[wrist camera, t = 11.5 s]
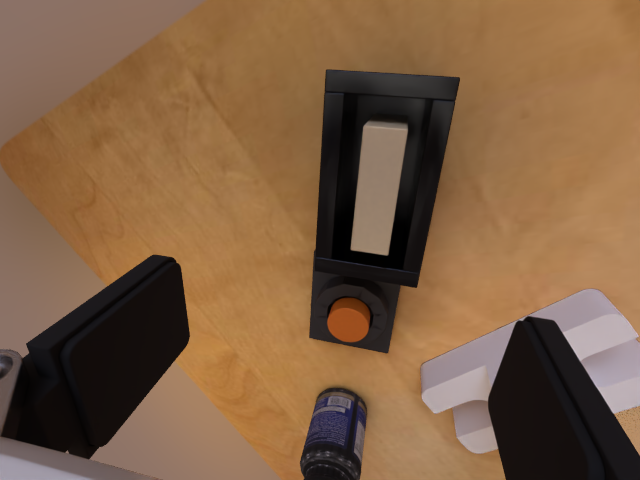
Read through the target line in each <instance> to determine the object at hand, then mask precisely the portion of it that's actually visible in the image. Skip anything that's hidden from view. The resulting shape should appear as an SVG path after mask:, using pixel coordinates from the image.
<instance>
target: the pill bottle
mask: <svg viewBox="0 0 640 480" xmlns="http://www.w3.org/2000/svg"><path fill="white" fill-rule="evenodd" d="M366 418H367V408H366V405H365V403H364V401H363V400H362V399H361V398H360V397H359V396H358V395H356V394H355V393H353V392H351V391H349V390H346V389H342V388H331V389H327V390H325V391H323V392H322V393H321V394H320V395H319V396H318V398H317V400H316V404H315V408H314V412H313V415H312V419H311V423H310V427H309V430H308V434H307V438H306V442H305V445H304V449H303V453H302V456H301V461H300V467H301V472H302V474H303V476H304V478H305V479H304V480H360V475H361V465H362V455H363V446H364V437H365V427H366Z"/></svg>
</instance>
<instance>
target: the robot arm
mask: <svg viewBox="0 0 640 480" xmlns="http://www.w3.org/2000/svg"><path fill="white" fill-rule="evenodd" d="M189 337H190V333H189V325H188V318H187V310H186V303H185V295H184V287H183V280H182V272H181V267H180V265H179V264H178V263H176V260H175V259H174V258H172V257H167V256H161V255H152V256H150V257H149V258H147V259H146V260H144V261H143V262H142V263H140V264H139V265H137V266H136V267H134V268H133V269H132V270H130V271H129V272H127V273H126V274H125V275H123V276H122V277H120V278H119V279H117V280H116V281H115V282H113V283H112V284H110V285H109V286H107V287H106V288H105V289H103V290H102V291H101V292H99V293H98V294H96V295H95V296H93V297H92V298H90V299H89V300H88V301H86V302H85V303H83V304H82V305H80V306H79V307H78V308H76V309H75V310H73V311H72V312H71V313H69V314H68V315H66V316H65V317H63V318H62V319H61V320H59V321H58V322H56V323H55V324H53V325H52V326H51V327H49V328H48V329H46V330H45V331H44V332H42V333H41V334H39V335H38V336H36V337H35V338H34V339H32V340H31V341H29V342H28V343H26V345H27V348H28V350H29V354H28V355H26V356H25V357H24V358H22V357H21V355H20V354H19V353H18V352H16V351H13V350H3V349H1V350H0V480H161V479H158V478H154V477H150V476H147V475H143V474H140V473H136V472H133V471H129V470H125V469H122V468H118V467H115V466H111V465H107V464H104V463H100V462H96V461H92V460H89V459H90V458H91V456H92V455H93V454H94V453H95V451H96V450H97V449H98V448H99V447H102V446H104V445H106V444H107V443H108V442H109V441H110V440H111V438H112V437H113V436H114V435H115V434H116V432H117V431H118V430H119V428H120V427H121V426H122V425H123V424H124V422H125V421H126V420H127V419H128V417H129V416H130V415H131V414H132V412H133V411H134V410H135V409H136V408H137V406H138V405H139V404H140V403H141V401H142V400H143V399H144V397H146V395H147V394H148V393H149V392H150V390H151V389H152V388H153V387H154V385H155V384H156V383H157V382H158V380H159V379H160V378H161V377H162V375H163V374H164V373H165V372H166V371H167V369H168V368H169V367H170V366H171V364H172V363H173V362H174V361H175V360H176V358H177V357H178V356H179V355H180V353H181V352H182V351H183V350H184V348H185V347H186V346H187V344H188V341H189ZM488 410H489V414H490V418H491V422H492V426H493V430H494V434H495V438H496V442H497V446H498V450H499V454H500V458H501V461H502V465H503V469H504V473H505V477H506V480H640V455H639V454H638V452H637V451H636V449H635V447H634V446H633V444H632V443H631V441H630V439H629V438H628V436H627V435H626V433H625V431H624V430H623V428H622V427H621V425H620V423H619V422H618V420H617V419H616V417H615V415H614V414H613V412H612V411H611V409H610V407H609V406H608V404H607V403H606V401H605V399H604V398H603V396H602V395H601V393H600V391H599V390H598V389H597V387H596V386H595V384H594V382H593V381H592V379H591V378H590V376H589V374H588V373H587V371H586V370H585V368H584V366H583V365H582V363H581V362H580V360H579V358H578V357H577V355H576V354H575V352H574V350H573V349H572V347H571V346H570V344H569V342H568V341H567V339H566V338H565V336H564V334H563V333H562V331H561V330H560V328H559V326H558V325H557V323H556V322H555V321H554V320H550V319H544V318H538V317H532V316H527V317H526V318H525V319H524V320H523V321H521V320H518V321H517V322H516V324H515V326H514V328H513V331H512V334H511V337H510V339H509V342H508V345H507V347H506V350H505V353H504V356H503V358H502V361H501V364H500V366H499V369H498V372H497V374H496V377H495V380H494V383H493V385H492V388H491V391H490V393H489V397H488ZM67 450H68V452H69V454H67V453H65V452H66V451H67Z"/></svg>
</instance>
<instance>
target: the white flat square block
mask: <svg viewBox="0 0 640 480" xmlns="http://www.w3.org/2000/svg"><path fill="white" fill-rule="evenodd" d="M407 133H408V118H407V116H401V115H389V114H374V115H373V116H372V117H371V118H370V120H369V121H368V122H367V123H366V124H365V125H364V127H363V135H362V145H361V154H360V164H359V173H358V183H357V192H356V202H355V211H354V221H353V230H352V240H351V250H353V251H360V252H366V253H373V254H380V255H386V256H387V255H388V254H389V247H390V241H391V235H392V228H393V222H394V216H395V209H396V203H397V197H398V190H399V184H400V178H401V171H402V165H403V159H404V152H405V146H406V140H407Z"/></svg>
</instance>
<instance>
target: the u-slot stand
mask: <svg viewBox="0 0 640 480" xmlns="http://www.w3.org/2000/svg"><path fill="white" fill-rule="evenodd" d="M527 316H532V317H538V318H544V319H550V320H554V321H555V322H556V323H557V325H558V326H559V328H560V330H561V331H562V333H563V334H564V336H565V338H566V339H567V341H568V342H569V344H570V346H571V347H572V349H573V350H574V352H575V354H576V355H577V357H578V358H579V360H580V362H581V363H582V365H583V366H584V368H585V370H586V371H587V373H588V374H589V376H590V378H591V379H592V381H593V382H594V384H595V386H596V387H597V389H598V390H599V391H600V393H601V395H602V396H603V398H604V399H605V401H606V403H607V404H608V406H609V407H610V409H611V411H612V412H613V414H614V413H617V412H620V411H624V410H627V409H630V408H634V407H637V406H640V343H639V342H638V341H637V340H636V339H635V338H637V337H639V336H638V334H637V333H636V332H635V330H634V329H633V327H632V326H631V325H630V323H629V322H628V320H627V319H626V318H625V317H624V316H623V315H622V314H621V313H620V312H619V310H618V309H617V308H616V307H615V306H614V305H613V304H612V303H611V302H610V301H609V300H608V299H607V297H606V296H605V295H604V294H603V293H602V292H601V291H599V290H596V289H585V290H582V291H580V292H578V293H575V294H573V295H571V296H569V297H567V298H564V299H562V300H560V301H558V302H556V303H554V304H551V305H549V306H547V307H545V308H543V309H541V310H538V311H536V312H534V313H532V314H530V315H527ZM527 316H525V317H523V318H521V319H519V320H521V321H523V320H524V319H525V318H526V317H527ZM517 321H518V320H517ZM517 321H514V322H512V323H510V324H508V325H506V326H503V327H501V328H499V329H497V330H495V331H493V332H490V333H488V334H486V335H484V336H482V337H480V338H477V339H475V340H473V341H471V342H469V343H466V344H464V345H462V346H460V347H458V348H456V349H453V350H451V351H449V352H447V353H445V354H442V355H440V356H438V357H436V358H434V359H432V360H429V361H427V362H425V363H423V364H422V365H421V368H420V374H421V394H422V400H423V401H424V403H425V404H426V405H427V406H428V407H429V408H430V409H431V410H432V411H433V412H434V414H436V413H439V412H442V411H444V410H447V409H450V408H452V407H453V415H454V423H455V430H456V437H457V439H458V440H459V441H460V442H461V443H462V444H463V445H464V446H465V447H466V448H467V449H468V450H469V451H471V452H473V453H478V454H482V453H486V452H489V451H492V450H496V449H498V446H497V442H496V438H495V434H494V430H493V426H492V422H491V418H490V414H489V410H488V397H489V393H490V391H491V388H492V385H493V383H494V380H495V377H496V374H497V372H498V369H499V366H500V364H501V361H502V358H503V356H504V353H505V350H506V347H507V345H508V342H509V339H510V337H511V334H512V331H513V328H514V326H515V324H516V322H517ZM468 401H469V402H468ZM465 402H466V403H465ZM463 403H464V404H463ZM460 404H461V405H460ZM457 405H459V406H457ZM455 406H456V407H455Z"/></svg>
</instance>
